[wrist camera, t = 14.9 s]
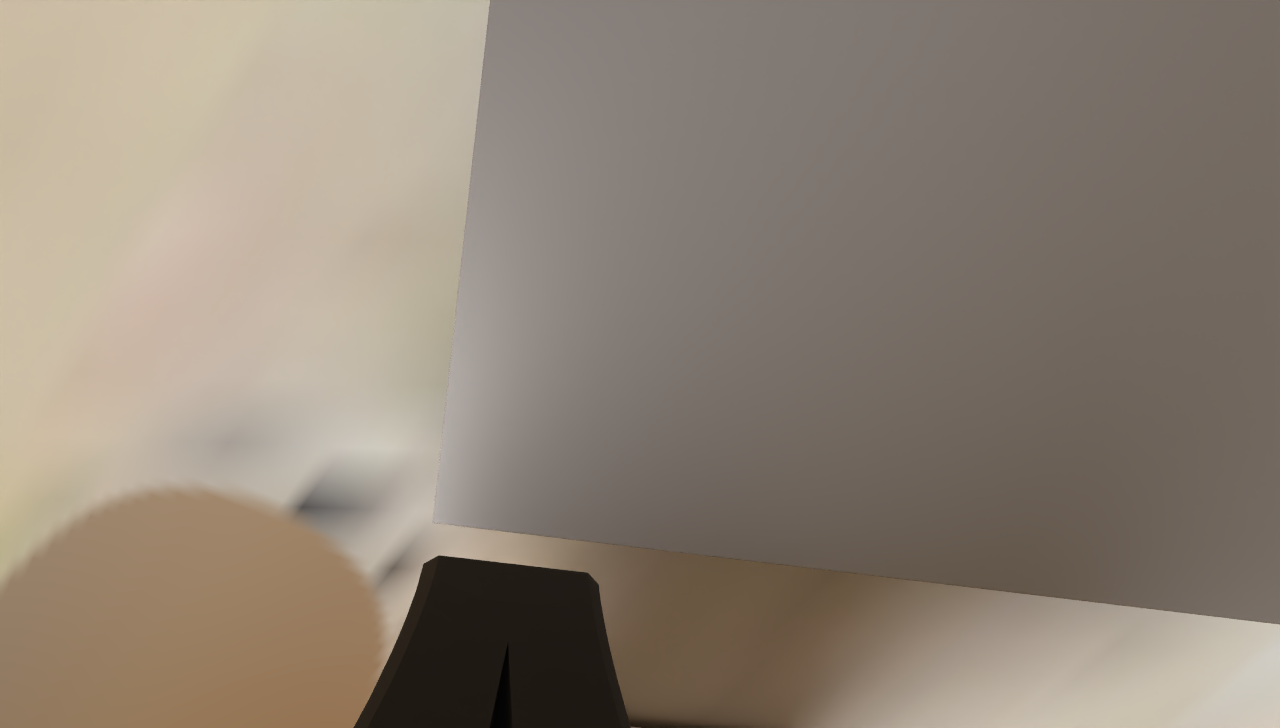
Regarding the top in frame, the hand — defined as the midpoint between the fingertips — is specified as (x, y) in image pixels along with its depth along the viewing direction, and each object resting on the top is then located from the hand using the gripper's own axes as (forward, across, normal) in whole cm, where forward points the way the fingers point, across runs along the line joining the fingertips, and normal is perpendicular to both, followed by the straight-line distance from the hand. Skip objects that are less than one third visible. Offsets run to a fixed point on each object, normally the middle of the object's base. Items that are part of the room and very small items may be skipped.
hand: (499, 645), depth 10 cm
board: (+9, -7, -1) cm, 12 cm away
